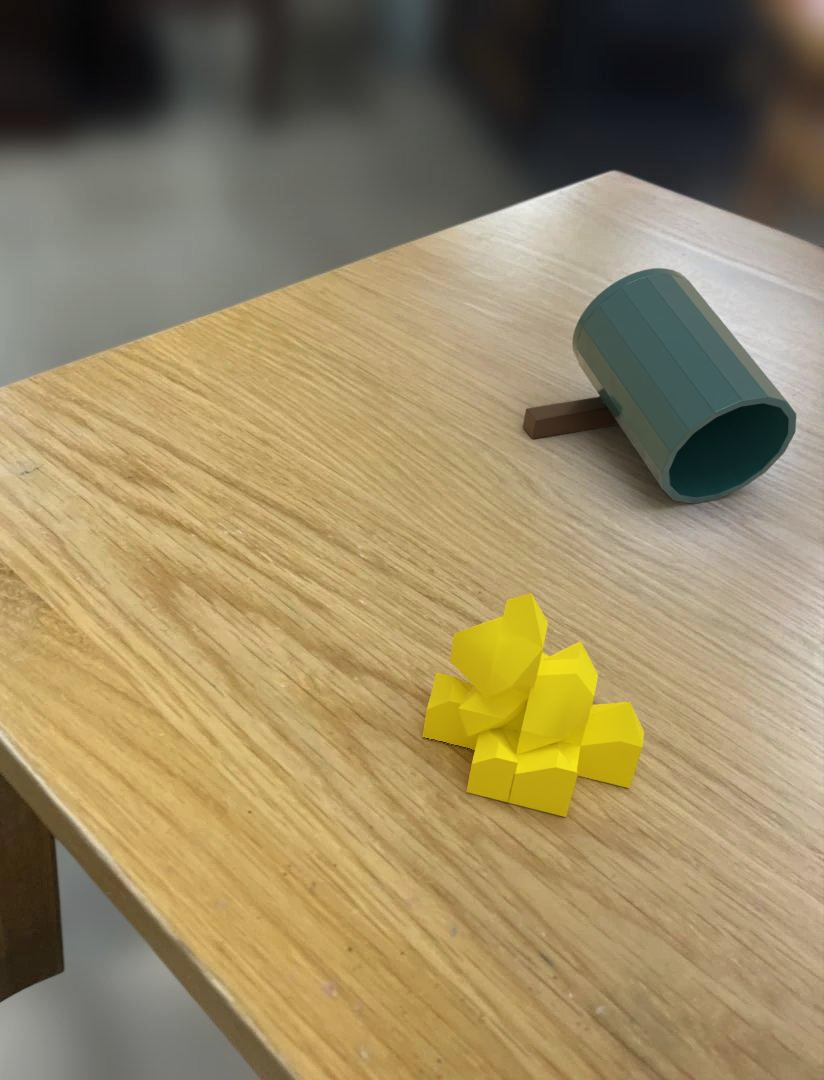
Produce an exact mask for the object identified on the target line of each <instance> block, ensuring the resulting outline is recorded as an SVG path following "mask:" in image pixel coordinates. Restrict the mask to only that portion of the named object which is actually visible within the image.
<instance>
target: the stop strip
mask: <svg viewBox="0 0 824 1080" xmlns="http://www.w3.org/2000/svg"><path fill="white" fill-rule="evenodd" d="M615 425H619V424H618V422H617V421H616V419H615V418H614V416H613V415H612V413H611V412H610V410H609V409H608V407H607V406H606V404H605V403H604V401H603V400H602V398H601V397H600V396H594V397H589V398H582V399H575V400H570V401H564V402H557V403H551V404H545V405H539V406H532V407H527V408H526V409H525V411H524V417H523V423H522V428H523V429H524V430H525V432H526V433H527V434H528V435H529V436H530V438H531V439H533V440H534V439H539V438H545V437H551V436H552V437H553V436H556V435H562V434H563V435H564V434H569V433H574V432H580V431H581V432H582V431H586V430H593V429H599V428H604V427H610V426H615Z"/></svg>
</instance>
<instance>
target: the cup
mask: <svg viewBox="0 0 824 1080" xmlns="http://www.w3.org/2000/svg"><path fill="white" fill-rule="evenodd" d="M571 343H572V352H573V355H574V357H575V359H576V361H577V362H578V366H579V367H580V369H581V370H582V371H583V373H584V374H585V376H586V377H587V379H588V380H589V382H590V383H591V385H592V386H593V388H594V389H595V391H596V392H597V394H598V395H599V397H601V398H602V400H603V401H604V403H605V404H606V406H607V407H608V409H609V410H610V412H611V413H612V415H613V416H614V418H615V419H616V421H617V422H618V424H617V425H618V426H619V427H620V429H621V430H622V431H623V433H624V434H625V436H626V437H627V439H628V440H629V442H630V443H631V445H632V446H633V448H634V449H635V450H636V452H637V453H638V455H639V457H640V458H641V460H642V461H643V462H644V464H645V466H646V467H647V468H648V470H649V472H650V473H651V474H652V476H653V477H654V479H655V480H656V482H657V484H658V485H659V486H660V488H661V490H663V491H664V493H666V494H667V495H668V496H669V497H670V498H671V499H672V500H673V501H675V502H676V501H677V502H682V503H687V504H699V503H704V502H710V501H716V500H719V499H721V498H723V497H726V496H729V495H730V494H733V493H736V492H737V491H740V490H742V489H744V488H746V487H747V486H748V485H749V484H751V483H753V482H754V481H756V480H757V479H759V478H760V477H762V475H764V474H766V472H768V471H769V470H770V469H771V468H772V466H773V465H775V463H776V462H777V461H778V460H779V459H780V458H781V457H782V456H783V455H784V454H785V453H786V451H787V449H788V447H789V446H790V444H791V442H792V440H793V438H794V436H795V434H796V431H797V413H796V411H795V409H794V408H793V407H792V406H791V404H790V403H789V402H788V401H787V399H786V398H785V397H784V396H783V395H782V393H781V392H780V391H779V389H778V388H777V387H776V386H775V384H774V383H773V382H772V380H770V378H769V377H768V376H767V375H766V373H764V371H763V370H762V369H761V368H760V366H759V365H758V363H756V361H755V360H754V359H753V357H752V356H751V355H750V354H749V353H748V351H747V350H746V349H745V348H744V346H743V345H742V344H741V342H739V340H738V339H737V338H736V336H735V335H734V334H733V333H732V332H731V330H730V329H729V328H728V327H727V325H726V324H725V323H724V322H723V321H722V319H720V317H719V316H718V314H717V313H716V312H715V310H714V309H713V308H712V307H711V306H710V305H709V303H708V302H707V301H706V299H704V297H703V296H702V294H700V292H699V291H698V289H696V287H695V286H694V285H693V283H691V281H690V280H689V279H688V278H687V277H686V276H685V275H683V274H682V273H681V272H679V271H676V270H674V269H670V268H663V267H657V268H655V267H653V268H647V269H643V270H639V271H635V272H633V273H630V274H628V275H626V276H624V277H622V278H620V279H618V280H617V281H615V282H613V283H611V284H610V285H609V286H608V287H606V288H605V289H603V290H602V291H601V292H599V294H598V295H596V297H594V299H593V300H591V301H590V303H589V304H588V305H587V306H586V308H585V309H584V310H583V312H582V314H581V315H580V317H579V319H578V320H577V323H576V324H575V327H574V331H573V334H572V341H571Z"/></svg>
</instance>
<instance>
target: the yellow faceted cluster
mask: <svg viewBox="0 0 824 1080" xmlns="http://www.w3.org/2000/svg"><path fill="white" fill-rule="evenodd" d="M548 626H549V621H548V620H547V618H546V616H545V614H544V612H543V611H542V609H541V607H540V606H539V603H538V602H537V600H536V599H535V597H534V595H533V594H532V592H529V593H526V594H522V595H519V596H515V597H511V598H507V599H506V601H505V607H504V611H503V615H502V616H498V617H496V618H493V619H490V620H487V621H484V622H482V623H479V624H476V625H473V626H470V627H468V628H465V629H461V630H459V631H457V632H454V633H453V637H452V643H451V650H450V656H449V662H450V663H451V664H452V665H453V666H454V667H455V668H456V669H457V670H458V671H459V672H460V673H461V675H462V676H464V677H465V678H466V679H467V680H468V681H469V682H470V683H469V682H467V681H466V680H463V679H461V678H460V677H457V676H453V675H450V674H445V673H441V672H435V674H434V675H435V676H434V680H433V684H432V687H431V688H432V689H431V692H430V696H429V700H428V703H427V707H426V711H425V716H424V724H423V731H422V737H425V738H424V739H426V738H429V739H428V740H431V739H435V740H439V741H443V742H447V743H450V744H449V745H451V744H454V745H453V746H455V745H459V746H463V747H468V748H470V749H469V750H471V749H472V751H474V752H473V756H472V761H471V764H470V765H471V766H470V771H469V775H468V780H467V781H468V782H467V784H466V785H467V786H466V791H465V792H466V793H467V794H468V793H469V794H472V795H476V796H481V797H485V798H488V799H492V800H496V801H500V802H503V803H508V804H512V805H516V806H520V807H523V808H524V807H525V808H528V809H532V810H535V811H539V812H543V813H548V814H551V815H556V816H559V817H563V818H567V817H568V816H567V815H568V813H569V809H570V805H571V802H572V797H573V795H574V790H575V787H576V783H577V779H578V777H581V778H586V779H590V780H595V781H599V782H602V783H606V784H610V785H613V786H614V785H615V786H618V787H622V788H626V789H630V787H631V785H632V781H633V778H634V776H635V772H636V769H637V766H638V763H639V760H640V757H641V755H642V754H641V753H642V750H643V748H644V739H645V731H644V730H645V729H644V728H643V726H642V724H641V721H640V720H639V717H638V716H637V713H636V711H635V709H634V707H633V704H632V703H631V701H622V702H621V701H620V702H611V703H597V704H593V703H594V700H595V699H594V698H595V695H596V691H597V690H596V689H597V684H598V678H599V673H598V671H597V669H596V668H595V665H594V664H593V662H592V659H591V658H590V655H589V654H588V652H587V650H586V647H585V646H584V644H583V642H582V640H580V641H578V642H577V641H576V643H573V644H572V645H569V646H568V647H565V648H564V649H561V650H559V651H557V652H555V653H554V654H550V655H548V654H546V653H545V652H543V651H544V646H545V641H546V637H547V631H548ZM435 740H434V741H435ZM439 741H438V742H439ZM443 742H442V743H443ZM447 743H446V744H447ZM459 746H458V747H459ZM463 747H462V748H463Z"/></svg>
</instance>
